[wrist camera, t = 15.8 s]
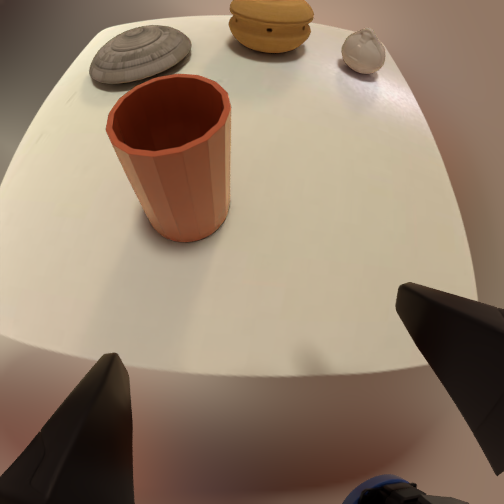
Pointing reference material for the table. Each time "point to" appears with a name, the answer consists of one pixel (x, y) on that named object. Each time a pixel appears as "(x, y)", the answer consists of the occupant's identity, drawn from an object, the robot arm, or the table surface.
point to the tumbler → (176, 152)
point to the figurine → (363, 51)
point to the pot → (271, 24)
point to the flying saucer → (139, 54)
